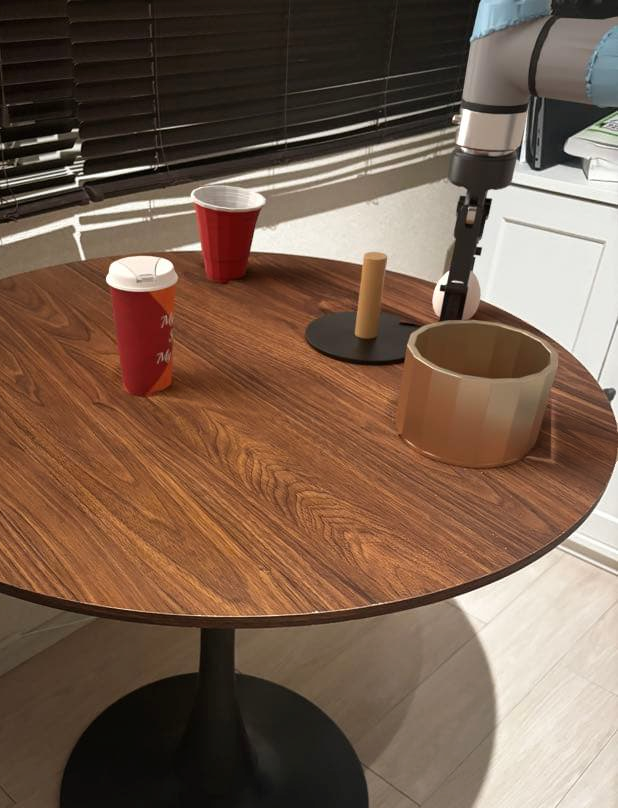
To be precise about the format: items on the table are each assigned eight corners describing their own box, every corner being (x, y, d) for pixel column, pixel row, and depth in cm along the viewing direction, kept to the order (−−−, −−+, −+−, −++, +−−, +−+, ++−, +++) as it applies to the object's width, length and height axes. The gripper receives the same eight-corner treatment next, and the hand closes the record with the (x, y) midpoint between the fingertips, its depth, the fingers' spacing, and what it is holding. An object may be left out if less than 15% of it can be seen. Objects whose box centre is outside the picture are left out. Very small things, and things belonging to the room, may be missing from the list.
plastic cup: (251, 293, 117) (254, 207, 110) (181, 284, 120) (179, 200, 113) (271, 269, 125) (275, 187, 118) (205, 261, 128) (205, 181, 121)
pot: (535, 411, 90) (558, 330, 84) (532, 479, 79) (558, 391, 73) (405, 391, 94) (418, 312, 88) (385, 453, 83) (399, 368, 77)
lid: (432, 328, 108) (447, 242, 101) (417, 377, 96) (433, 285, 90) (319, 313, 112) (326, 230, 105) (291, 359, 100) (298, 269, 93)
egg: (447, 311, 112) (457, 256, 108) (483, 325, 109) (496, 268, 104) (419, 322, 109) (428, 266, 105) (455, 336, 106) (467, 279, 101)
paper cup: (186, 397, 92) (184, 275, 84) (119, 404, 91) (110, 281, 82) (173, 367, 98) (169, 251, 90) (110, 373, 97) (100, 256, 88)
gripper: (462, 125, 106) (433, 285, 119) (442, 170, 87) (411, 354, 101) (521, 129, 104) (486, 292, 117) (514, 176, 86) (473, 363, 99)
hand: (451, 321), depth 109 cm, fingers open, 12 cm apart
